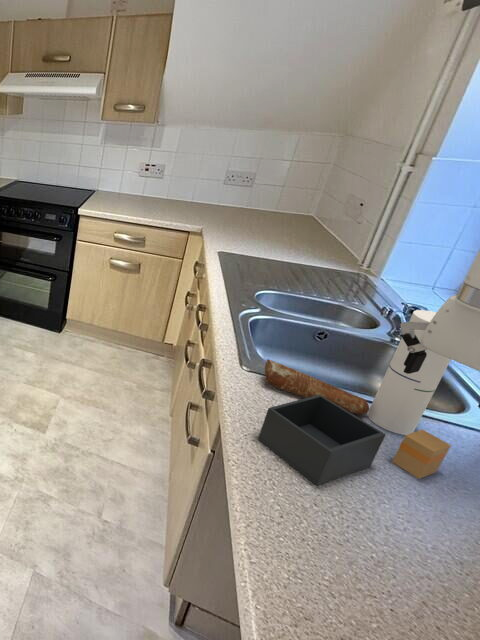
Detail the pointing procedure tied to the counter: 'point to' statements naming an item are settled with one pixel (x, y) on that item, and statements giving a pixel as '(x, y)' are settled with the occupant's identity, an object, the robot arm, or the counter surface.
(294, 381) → the bread
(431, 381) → the cylindrical container
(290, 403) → the bin
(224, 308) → the counter surface
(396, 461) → the carton
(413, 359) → the robot arm
